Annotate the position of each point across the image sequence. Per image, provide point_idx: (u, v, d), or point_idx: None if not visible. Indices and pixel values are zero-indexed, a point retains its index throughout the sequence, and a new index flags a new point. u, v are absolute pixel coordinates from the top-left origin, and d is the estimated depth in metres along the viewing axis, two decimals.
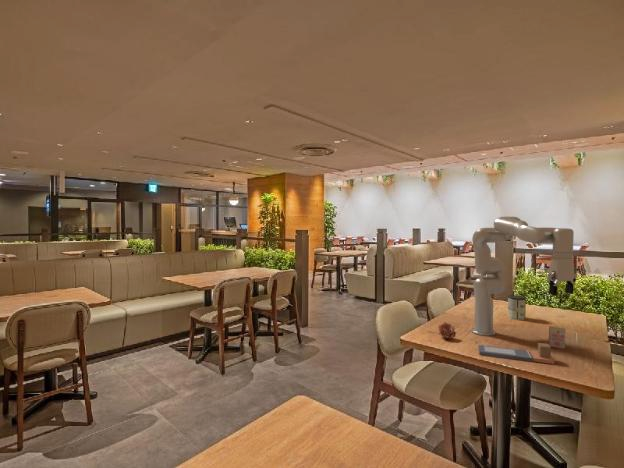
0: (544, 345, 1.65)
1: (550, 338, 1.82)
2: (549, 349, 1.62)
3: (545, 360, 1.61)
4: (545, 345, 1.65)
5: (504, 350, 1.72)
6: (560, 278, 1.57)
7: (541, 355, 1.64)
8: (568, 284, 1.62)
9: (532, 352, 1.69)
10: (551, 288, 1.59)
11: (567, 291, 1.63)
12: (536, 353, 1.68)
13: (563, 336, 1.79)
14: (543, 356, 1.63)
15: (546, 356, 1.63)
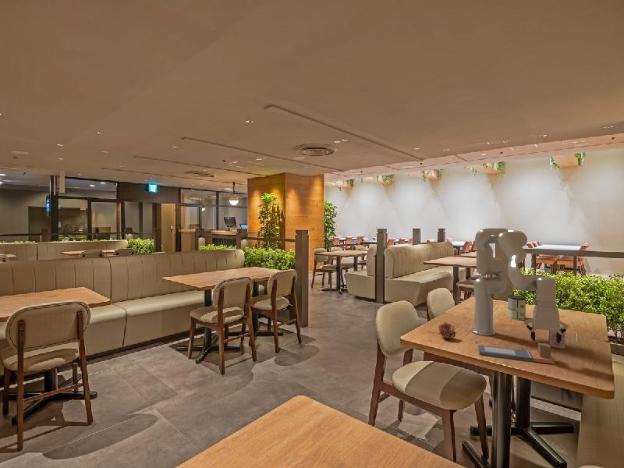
0: (544, 345, 1.65)
1: (550, 338, 1.82)
2: (549, 349, 1.62)
3: (545, 360, 1.61)
4: (545, 345, 1.65)
5: (504, 350, 1.72)
6: None
7: (541, 355, 1.64)
8: None
9: (532, 352, 1.69)
10: None
11: None
12: (536, 353, 1.68)
13: (563, 336, 1.79)
14: (543, 356, 1.63)
15: (546, 356, 1.63)
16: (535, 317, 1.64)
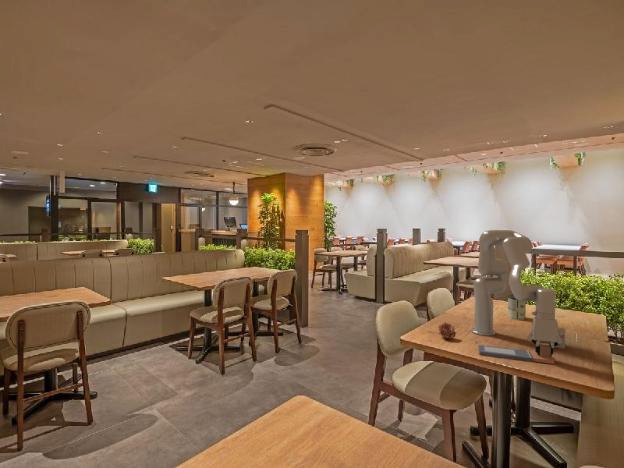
0: (544, 345, 1.65)
1: None
2: (549, 349, 1.62)
3: (545, 360, 1.61)
4: (545, 345, 1.65)
5: (504, 350, 1.72)
6: None
7: (541, 355, 1.64)
8: None
9: (532, 352, 1.69)
10: None
11: None
12: (536, 353, 1.68)
13: (563, 336, 1.79)
14: (543, 356, 1.63)
15: (546, 356, 1.63)
16: (534, 328, 1.64)
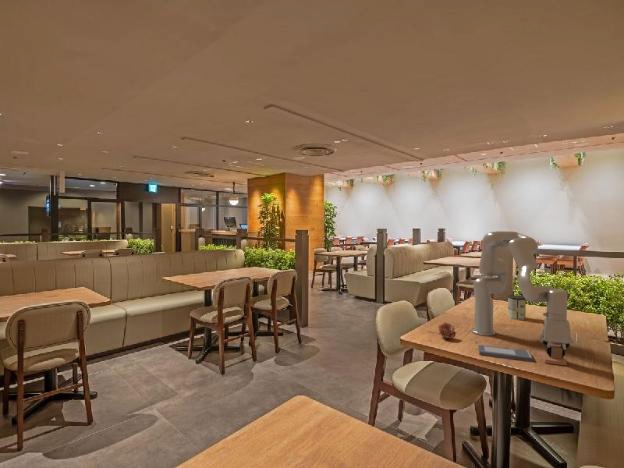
0: (555, 346, 1.63)
1: None
2: (560, 350, 1.61)
3: (556, 361, 1.59)
4: (556, 346, 1.63)
5: (504, 350, 1.72)
6: None
7: (552, 356, 1.62)
8: None
9: (543, 354, 1.67)
10: None
11: None
12: (547, 354, 1.67)
13: None
14: (554, 357, 1.62)
15: (558, 357, 1.61)
16: (545, 329, 1.63)
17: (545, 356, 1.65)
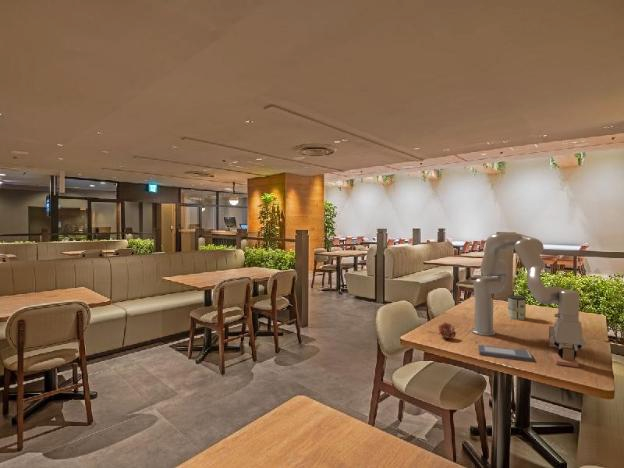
0: (567, 348, 1.61)
1: None
2: (572, 352, 1.59)
3: (568, 363, 1.58)
4: (568, 348, 1.61)
5: (504, 350, 1.72)
6: None
7: (564, 358, 1.60)
8: (561, 348, 1.63)
9: (554, 355, 1.66)
10: None
11: None
12: (558, 356, 1.65)
13: None
14: (566, 359, 1.60)
15: (569, 359, 1.60)
16: (557, 331, 1.61)
17: (556, 357, 1.63)
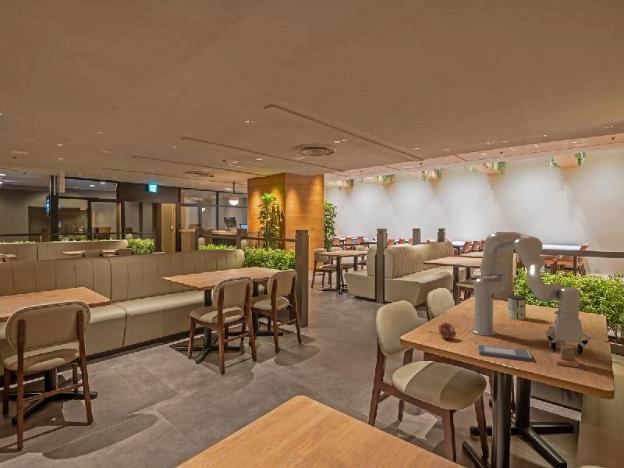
0: (567, 348, 1.61)
1: None
2: (572, 352, 1.59)
3: (568, 363, 1.58)
4: (568, 348, 1.61)
5: (504, 350, 1.72)
6: None
7: (564, 358, 1.60)
8: None
9: (554, 355, 1.66)
10: None
11: None
12: (559, 356, 1.65)
13: None
14: (566, 359, 1.60)
15: (570, 359, 1.60)
16: (557, 328, 1.61)
17: (557, 357, 1.63)
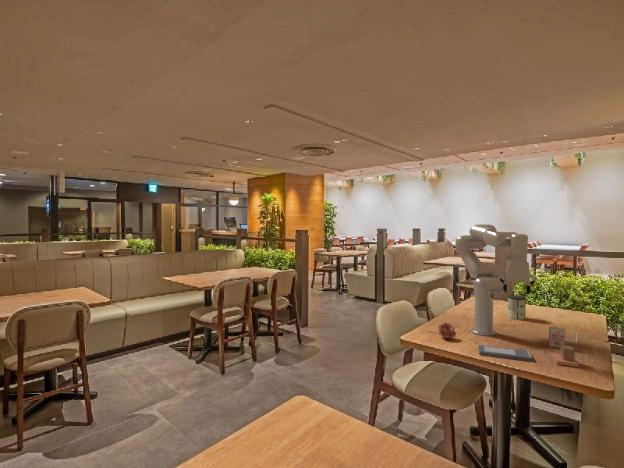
0: (567, 348, 1.61)
1: (550, 338, 1.82)
2: (572, 352, 1.59)
3: (568, 363, 1.58)
4: (568, 348, 1.61)
5: (504, 350, 1.72)
6: None
7: (564, 358, 1.60)
8: (506, 284, 1.80)
9: (554, 355, 1.66)
10: None
11: None
12: (559, 356, 1.65)
13: (563, 336, 1.79)
14: (566, 359, 1.60)
15: (570, 359, 1.60)
16: (507, 270, 1.77)
17: (557, 357, 1.63)
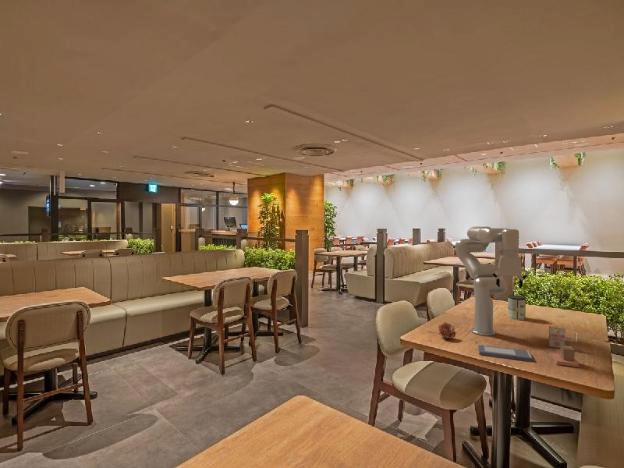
0: (567, 348, 1.61)
1: (550, 338, 1.82)
2: (572, 352, 1.59)
3: (568, 363, 1.58)
4: (568, 348, 1.61)
5: (504, 350, 1.72)
6: None
7: (564, 358, 1.60)
8: (499, 278, 1.83)
9: (554, 355, 1.66)
10: (522, 282, 1.79)
11: None
12: (559, 356, 1.65)
13: (563, 336, 1.79)
14: (566, 359, 1.60)
15: (570, 359, 1.60)
16: (500, 265, 1.80)
17: (557, 357, 1.63)
